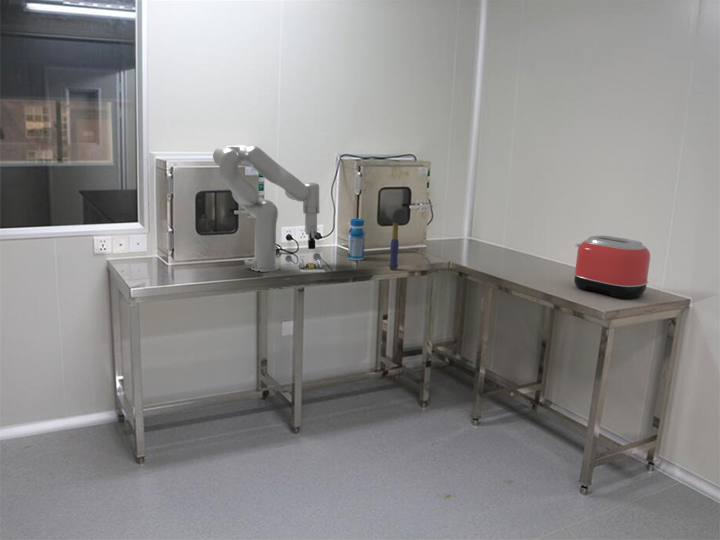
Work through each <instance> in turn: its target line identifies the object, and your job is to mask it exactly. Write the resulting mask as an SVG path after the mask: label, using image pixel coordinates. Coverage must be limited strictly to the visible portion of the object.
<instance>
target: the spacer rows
mask: <svg viewBox="0 0 720 540" xmlns="http://www.w3.org/2000/svg"><path fill="white" fill-rule="evenodd" d="M316 263H317V264H316V266H318V268H319V269H324V266H323V265H324V262H323V260H322V259H319V258H318V259H317V261H316ZM299 266H300V269H304V266H305V262H304V260H303V259H302V258H299V260H298V267H299ZM300 269H299V270H300Z"/></svg>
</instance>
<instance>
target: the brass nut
mask: <svg viewBox="0 0 720 540" xmlns="http://www.w3.org/2000/svg"><path fill="white" fill-rule="evenodd" d="M305 266H306V268H309V269H314V268H316V266H317V264H316V263H315V262H307V263H306V264H305Z"/></svg>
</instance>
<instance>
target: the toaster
mask: <svg viewBox="0 0 720 540" xmlns="http://www.w3.org/2000/svg"><path fill="white" fill-rule="evenodd" d="M574 246H575V247H576V248H577V247H578V248H577V255H576V261H575V271H574V272H573V276H574V278H573V282H574V285H575V286H576V288H578V289H579V290H587V291H594V292H596V293H602V294H607V295H610V296H612V297H614V298H619V299H621V300H628V299H634V298H635V299H636V298H639V297H642V296H643V295H644V293H645V291H646V289H647V285H648V284H649V281H648V276H649V269H650V263H651V252H650V250H649V249H648V247H646V245H644V244H643V242H641V241H639V240H635V239H628V238H625V237H624V238H623V237H617V236H611V235H610V236H609V235H593V236H589V237H588V239H585V240H584V241H582V242H581V243H577V244H575V245H574Z"/></svg>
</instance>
